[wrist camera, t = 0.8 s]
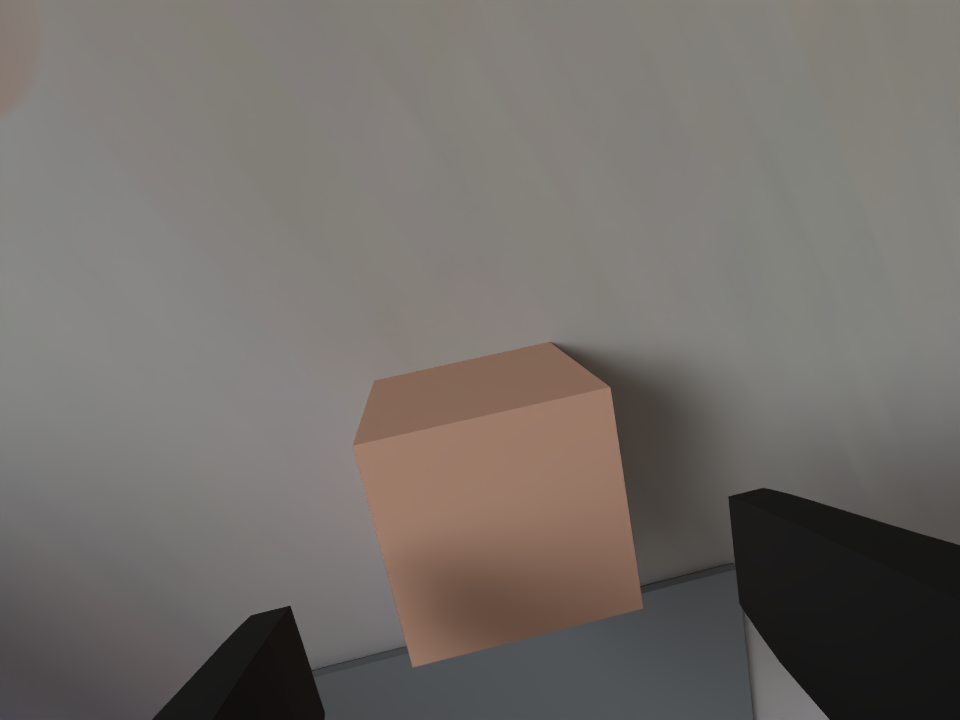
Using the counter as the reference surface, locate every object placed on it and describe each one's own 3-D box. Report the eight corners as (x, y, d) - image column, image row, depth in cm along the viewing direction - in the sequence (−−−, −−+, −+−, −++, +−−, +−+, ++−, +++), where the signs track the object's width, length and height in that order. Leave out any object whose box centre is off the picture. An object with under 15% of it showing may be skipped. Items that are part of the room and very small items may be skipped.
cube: (549, 341, 15) (610, 387, 10) (576, 500, 16) (643, 608, 11) (374, 379, 15) (352, 445, 10) (414, 538, 16) (412, 667, 11)
